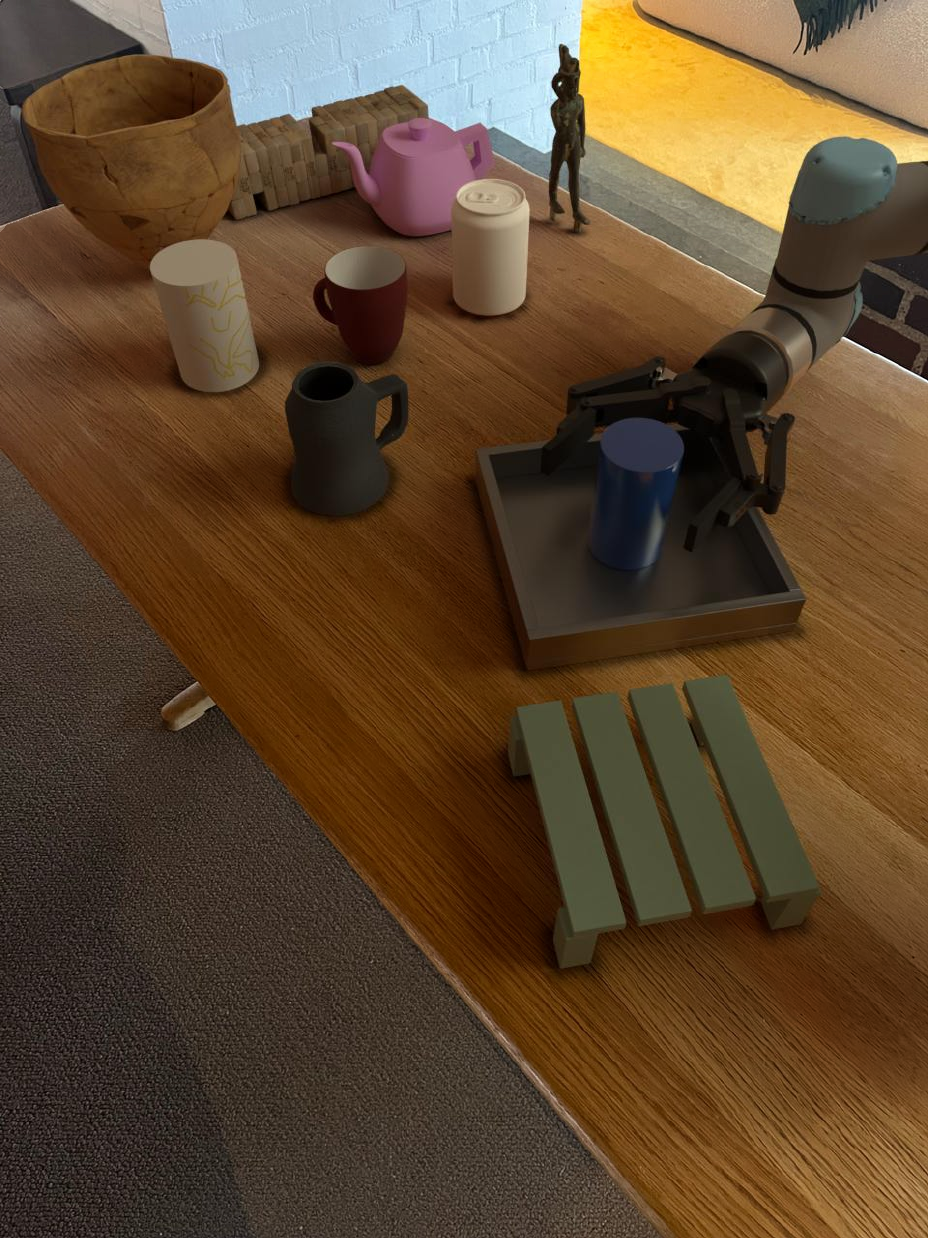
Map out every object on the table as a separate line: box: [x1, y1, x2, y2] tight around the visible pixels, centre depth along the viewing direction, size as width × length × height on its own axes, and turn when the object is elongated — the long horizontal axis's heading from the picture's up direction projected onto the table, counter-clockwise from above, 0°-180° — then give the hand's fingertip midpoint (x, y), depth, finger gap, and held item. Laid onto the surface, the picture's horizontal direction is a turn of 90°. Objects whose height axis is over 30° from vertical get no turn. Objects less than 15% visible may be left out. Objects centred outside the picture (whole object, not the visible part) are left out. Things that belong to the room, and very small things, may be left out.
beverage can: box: [451, 178, 531, 317], centre depth 103 cm, size 8×8×12 cm
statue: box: [548, 43, 592, 234], centre depth 109 cm, size 5×6×20 cm
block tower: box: [226, 84, 430, 221], centre depth 122 cm, size 8×8×29 cm
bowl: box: [21, 54, 241, 271], centre depth 104 cm, size 21×20×20 cm
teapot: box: [332, 118, 496, 237], centre depth 115 cm, size 13×20×11 cm
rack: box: [507, 674, 822, 970], centre depth 64 cm, size 16×16×6 cm
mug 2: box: [284, 361, 410, 517], centre depth 85 cm, size 12×9×11 cm
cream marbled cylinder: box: [149, 239, 260, 393], centre depth 95 cm, size 8×8×12 cm
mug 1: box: [312, 245, 409, 366], centre depth 98 cm, size 10×8×10 cm
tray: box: [475, 423, 807, 672], centre depth 81 cm, size 22×22×4 cm
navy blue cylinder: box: [587, 418, 684, 570], centre depth 78 cm, size 6×6×11 cm
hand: (614, 498), depth 75 cm, fingers open, 13 cm apart
